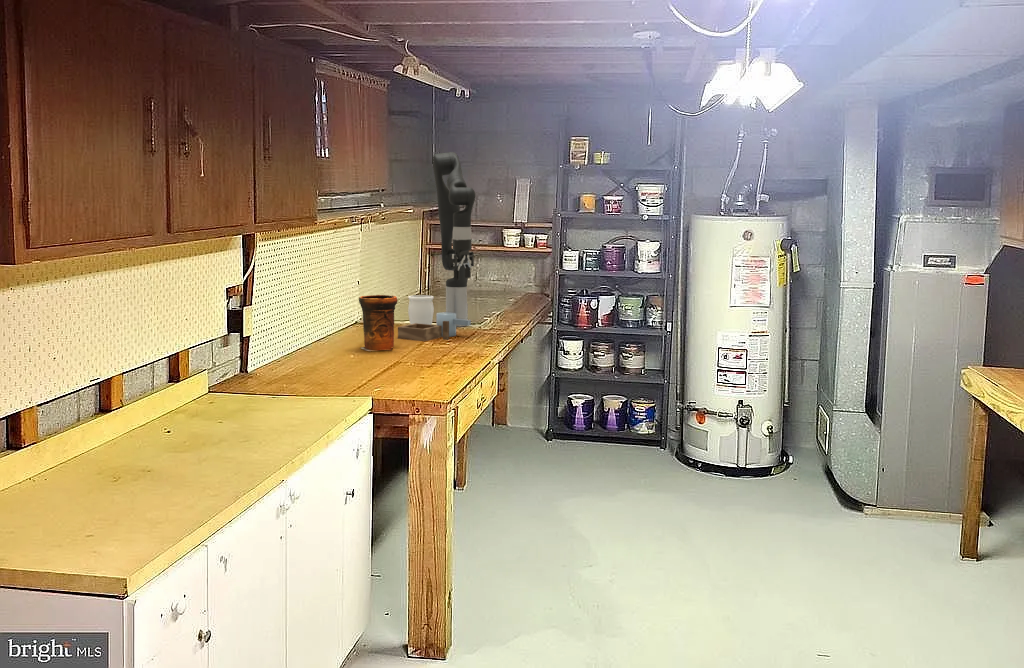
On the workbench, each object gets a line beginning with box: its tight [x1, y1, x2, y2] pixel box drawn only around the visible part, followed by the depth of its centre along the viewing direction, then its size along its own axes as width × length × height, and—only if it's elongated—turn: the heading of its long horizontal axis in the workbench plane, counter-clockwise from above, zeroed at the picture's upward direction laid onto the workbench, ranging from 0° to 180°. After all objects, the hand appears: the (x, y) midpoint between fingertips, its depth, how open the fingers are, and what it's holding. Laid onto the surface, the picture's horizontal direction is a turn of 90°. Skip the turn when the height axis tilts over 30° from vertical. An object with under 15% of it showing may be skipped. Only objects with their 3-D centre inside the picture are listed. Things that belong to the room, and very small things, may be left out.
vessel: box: [358, 294, 398, 352], centre depth 372 cm, size 14×14×20 cm
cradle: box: [396, 321, 450, 342], centre depth 394 cm, size 14×19×8 cm
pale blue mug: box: [435, 311, 472, 338], centre depth 400 cm, size 15×8×9 cm, turn 60°
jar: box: [407, 294, 435, 325], centre depth 415 cm, size 11×10×15 cm
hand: (462, 278), depth 396 cm, fingers open, 8 cm apart
